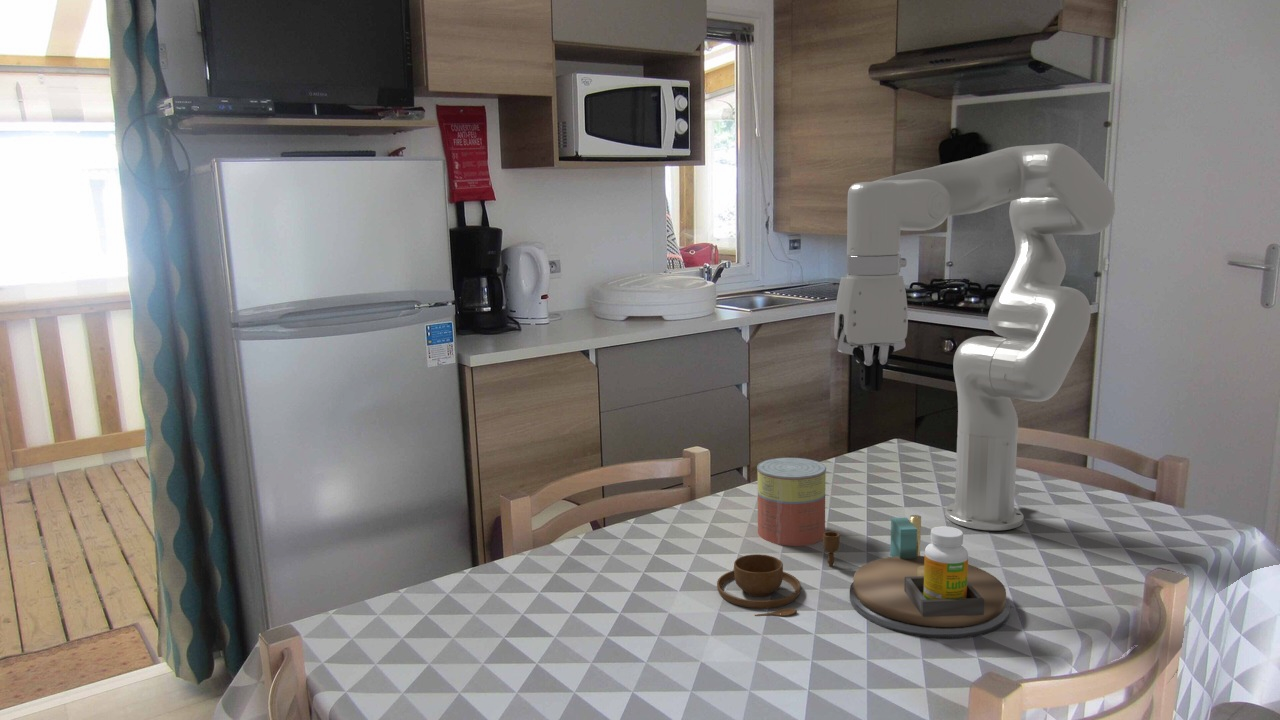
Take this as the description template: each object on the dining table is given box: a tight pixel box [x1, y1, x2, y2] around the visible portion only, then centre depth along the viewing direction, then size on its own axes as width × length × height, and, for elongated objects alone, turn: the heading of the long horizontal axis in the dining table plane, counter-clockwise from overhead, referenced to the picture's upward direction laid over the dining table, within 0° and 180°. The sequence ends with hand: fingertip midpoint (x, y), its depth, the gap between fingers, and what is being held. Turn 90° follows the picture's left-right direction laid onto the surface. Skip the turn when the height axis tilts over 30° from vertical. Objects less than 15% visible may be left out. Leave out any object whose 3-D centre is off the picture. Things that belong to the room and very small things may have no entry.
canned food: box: [756, 456, 827, 547], centre depth 151 cm, size 11×11×12 cm
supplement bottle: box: [923, 525, 969, 600], centre depth 119 cm, size 5×5×10 cm
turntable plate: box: [852, 517, 1007, 627], centre depth 127 cm, size 24×20×6 cm
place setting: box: [716, 530, 840, 618], centre depth 131 cm, size 18×20×6 cm
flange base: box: [849, 514, 1010, 639], centre depth 125 cm, size 21×21×8 cm
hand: (870, 389), depth 137 cm, fingers closed
